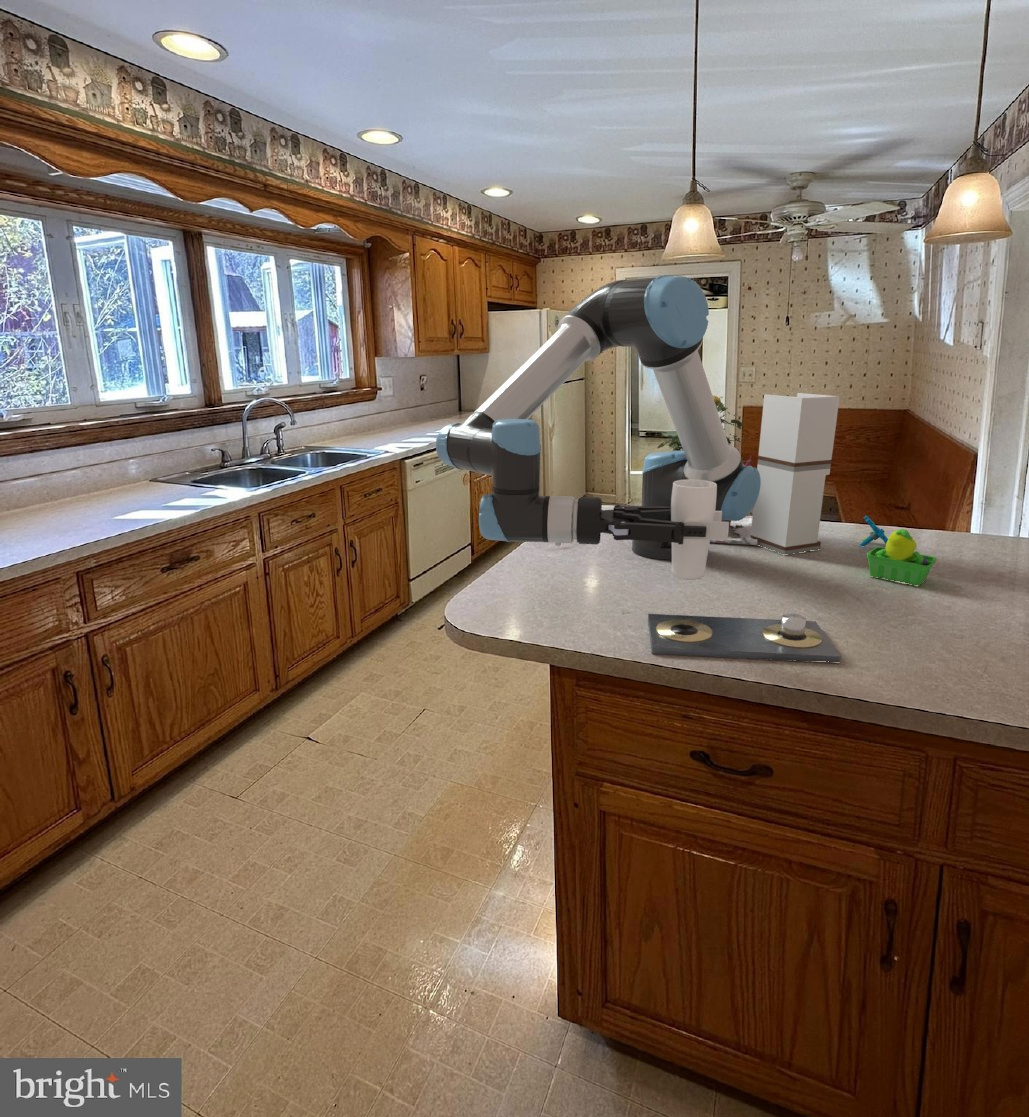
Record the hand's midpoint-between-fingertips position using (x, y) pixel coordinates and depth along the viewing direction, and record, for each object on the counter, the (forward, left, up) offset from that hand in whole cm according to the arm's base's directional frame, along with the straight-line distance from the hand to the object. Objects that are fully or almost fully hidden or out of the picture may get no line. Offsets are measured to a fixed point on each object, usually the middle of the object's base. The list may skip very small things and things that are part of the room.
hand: (724, 525), depth 110 cm
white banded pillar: (-59, -21, -20) cm, 65 cm away
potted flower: (-56, -43, -19) cm, 74 cm away
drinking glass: (+3, -4, -9) cm, 10 cm away
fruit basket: (-53, +7, -20) cm, 57 cm away
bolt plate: (-2, +3, -19) cm, 20 cm away
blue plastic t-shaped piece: (-74, -6, -20) cm, 77 cm away
